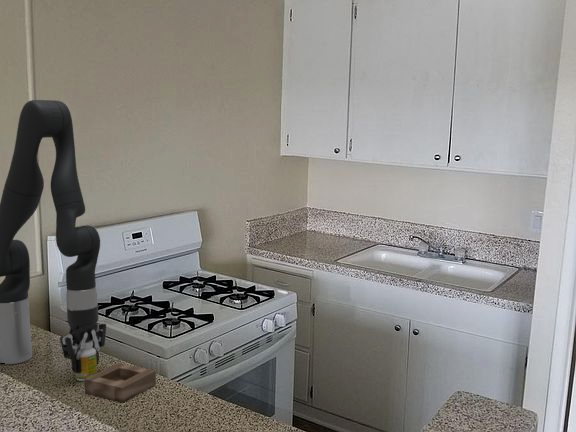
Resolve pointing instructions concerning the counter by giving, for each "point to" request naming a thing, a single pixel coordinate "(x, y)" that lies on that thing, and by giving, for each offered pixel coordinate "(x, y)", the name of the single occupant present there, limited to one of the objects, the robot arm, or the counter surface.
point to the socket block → (120, 382)
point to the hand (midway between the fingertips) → (85, 368)
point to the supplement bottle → (87, 362)
